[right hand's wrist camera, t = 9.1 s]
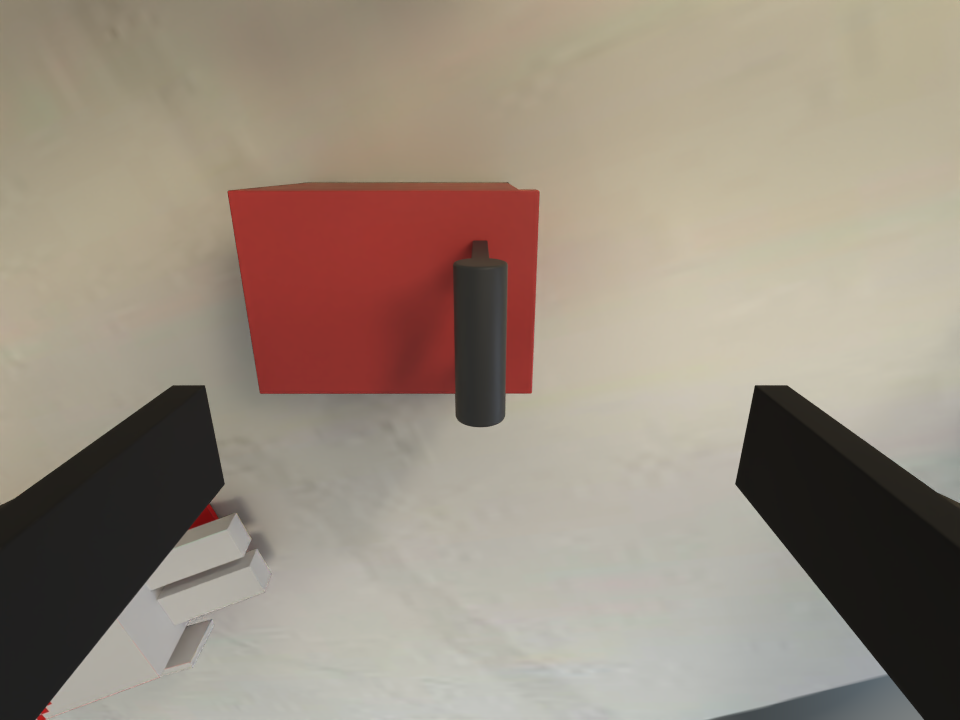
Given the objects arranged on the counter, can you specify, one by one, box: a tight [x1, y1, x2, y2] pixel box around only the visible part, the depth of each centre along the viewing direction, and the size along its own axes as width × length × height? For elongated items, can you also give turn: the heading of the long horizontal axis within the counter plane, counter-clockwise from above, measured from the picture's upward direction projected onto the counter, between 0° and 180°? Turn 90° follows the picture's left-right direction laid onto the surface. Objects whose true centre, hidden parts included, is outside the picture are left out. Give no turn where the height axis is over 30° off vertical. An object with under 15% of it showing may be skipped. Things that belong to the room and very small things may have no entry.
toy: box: [36, 504, 272, 720], centre depth 42 cm, size 12×13×30 cm
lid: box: [228, 190, 539, 427], centre depth 23 cm, size 14×10×9 cm
